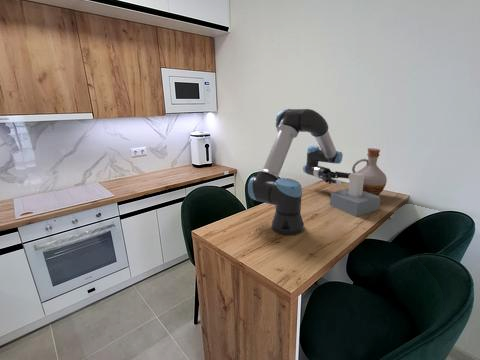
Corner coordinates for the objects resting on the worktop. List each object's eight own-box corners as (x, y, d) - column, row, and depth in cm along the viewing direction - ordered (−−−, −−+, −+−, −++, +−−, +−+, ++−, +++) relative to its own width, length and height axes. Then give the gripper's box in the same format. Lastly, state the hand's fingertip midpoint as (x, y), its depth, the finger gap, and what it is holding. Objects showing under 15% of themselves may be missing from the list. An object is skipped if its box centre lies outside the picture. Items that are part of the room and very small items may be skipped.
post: (354, 207, 138) (358, 175, 133) (347, 204, 142) (350, 173, 137) (360, 205, 140) (364, 174, 135) (353, 202, 144) (356, 172, 139)
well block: (356, 216, 130) (357, 203, 128) (329, 205, 145) (330, 192, 143) (378, 209, 138) (380, 196, 135) (351, 199, 153) (352, 187, 151)
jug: (349, 199, 153) (354, 150, 144) (349, 190, 169) (354, 145, 160) (385, 203, 146) (393, 152, 137) (382, 193, 161) (389, 147, 153)
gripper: (336, 175, 166) (364, 184, 148) (306, 181, 156) (332, 191, 138) (337, 164, 164) (365, 171, 146) (307, 169, 154) (334, 178, 135)
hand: (349, 181), depth 142 cm, fingers open, 13 cm apart
